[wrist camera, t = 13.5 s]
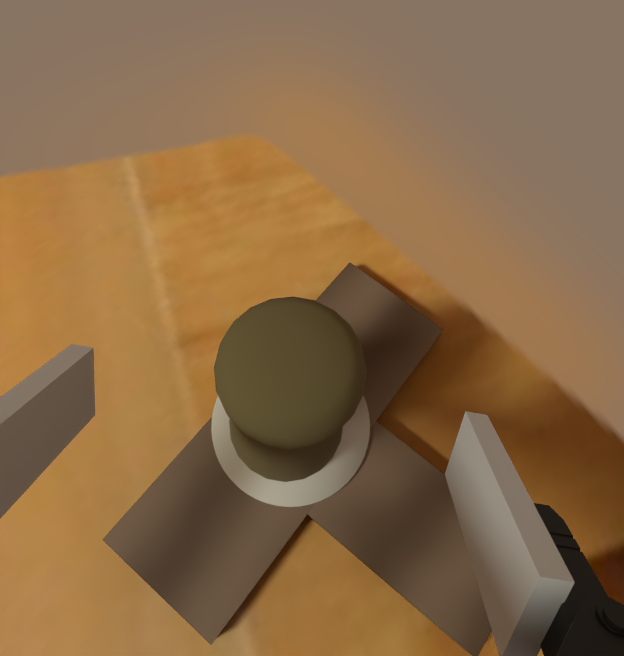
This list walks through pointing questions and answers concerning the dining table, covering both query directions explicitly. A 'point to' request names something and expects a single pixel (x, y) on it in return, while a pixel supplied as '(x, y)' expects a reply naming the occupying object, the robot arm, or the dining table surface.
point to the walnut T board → (313, 497)
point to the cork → (289, 385)
